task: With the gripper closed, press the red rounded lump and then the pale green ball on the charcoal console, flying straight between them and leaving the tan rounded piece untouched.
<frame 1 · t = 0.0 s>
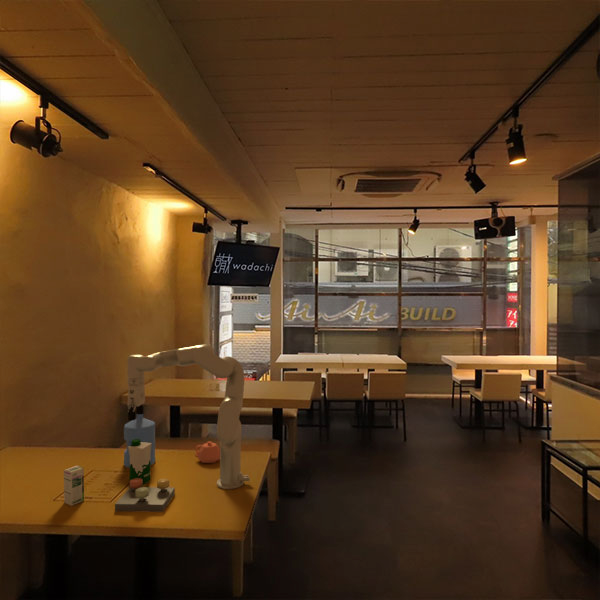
hand: (135, 417, 209), 31 cm above the table, fingers open, 9 cm apart
syrup box: (74, 502, 190), on the table
tan rounded piece: (163, 486, 194), point 5 cm above the table, slide at 0.0 cm
pale green ball: (142, 495, 185), point 5 cm above the table, slide at 0.0 cm
sugar bowl: (207, 461, 237), on the table
milk carton: (140, 482, 209), on the table
water jug: (139, 463, 233), on the table
red rounded lump: (136, 486, 194), point 5 cm above the table, slide at 0.0 cm
console: (146, 502, 190), on the table
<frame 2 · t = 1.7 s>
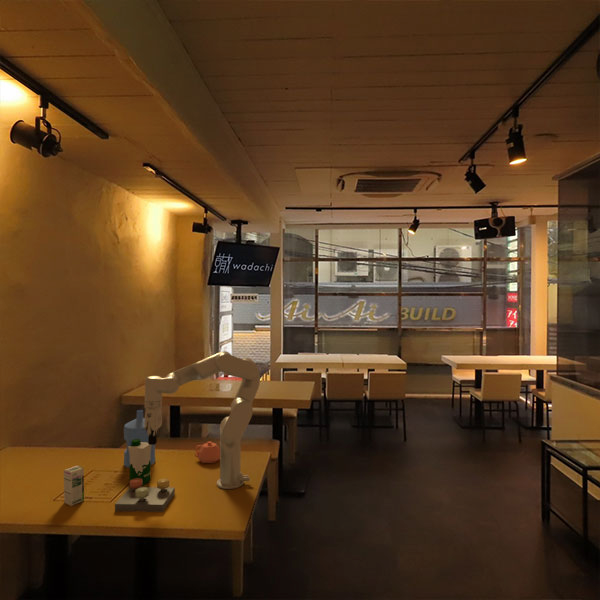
hand: (152, 443, 200), 22 cm above the table, fingers closed
nothing on the table moved.
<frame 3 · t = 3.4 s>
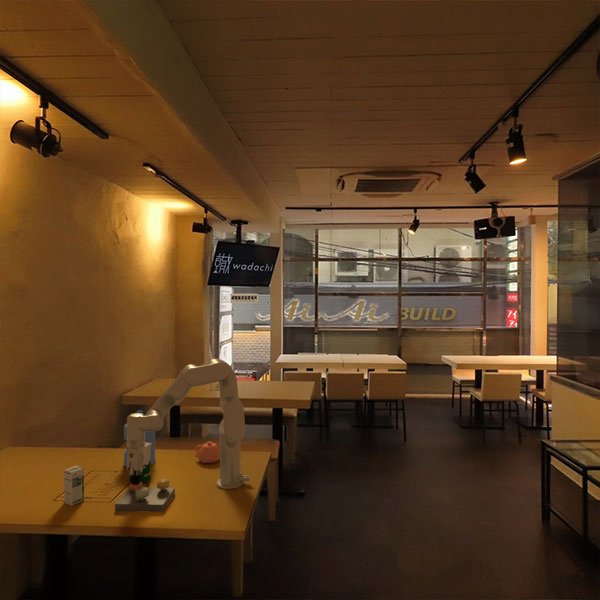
hand: (135, 483, 194), 6 cm above the table, fingers closed
red rounded lump: (136, 489, 194), point 4 cm above the table, slide at -1.4 cm, touching gripper
everything else where it was.
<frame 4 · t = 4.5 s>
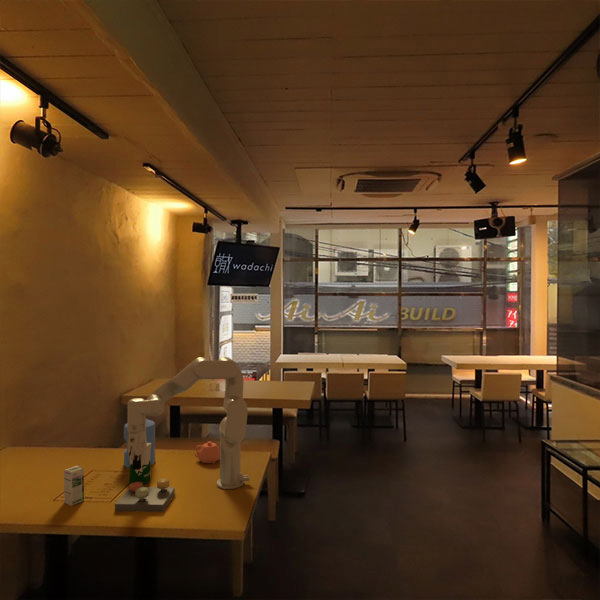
hand: (136, 468, 193), 13 cm above the table, fingers closed
red rounded lump: (136, 489, 194), point 3 cm above the table, slide at -1.6 cm
everything else where it was.
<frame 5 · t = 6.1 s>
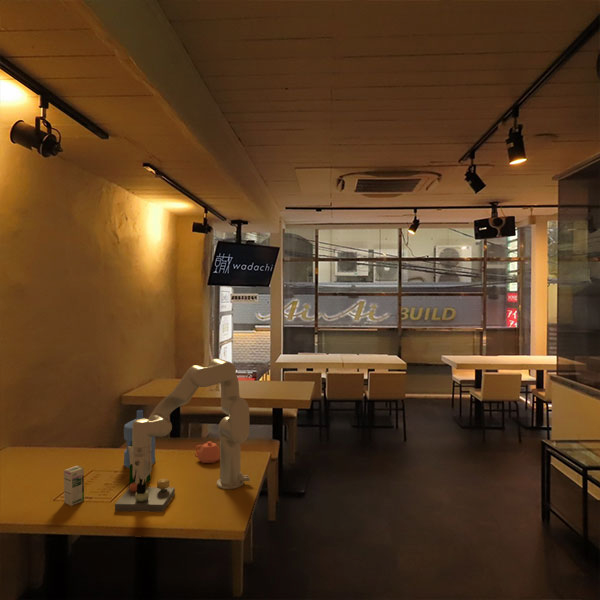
hand: (141, 492, 185), 6 cm above the table, fingers closed
pale green ball: (142, 498, 185), point 4 cm above the table, slide at -1.2 cm, touching gripper
everything else where it was.
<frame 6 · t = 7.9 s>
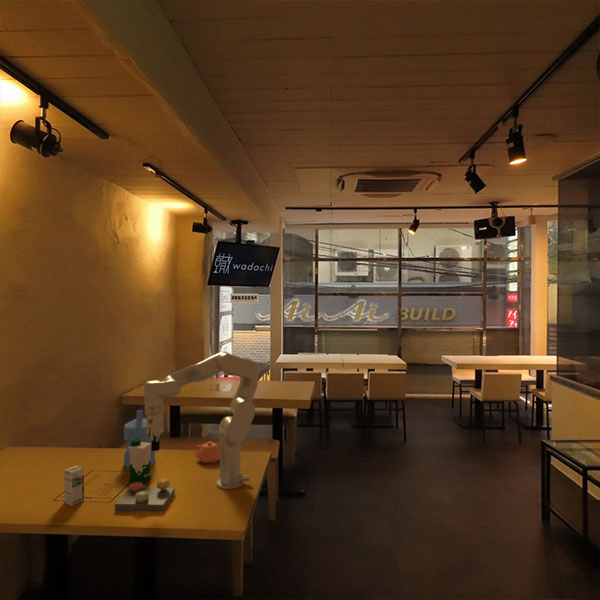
hand: (155, 450, 195), 21 cm above the table, fingers closed
pale green ball: (142, 499, 185), point 3 cm above the table, slide at -1.6 cm
everything else where it was.
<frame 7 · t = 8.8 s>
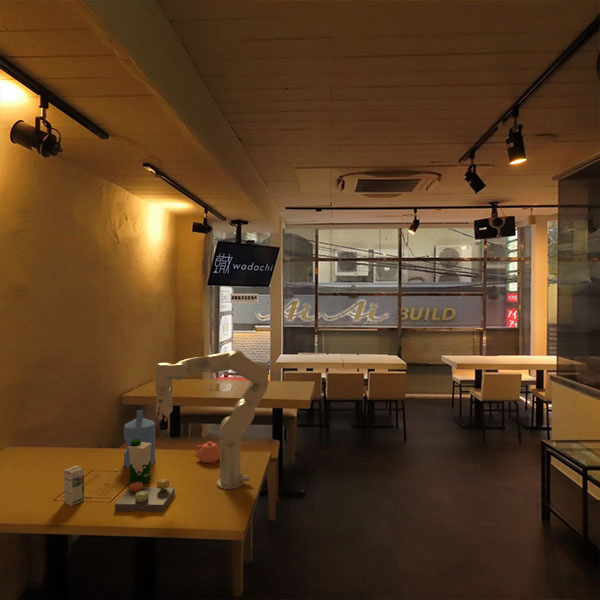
hand: (163, 429, 204), 27 cm above the table, fingers closed
nothing on the table moved.
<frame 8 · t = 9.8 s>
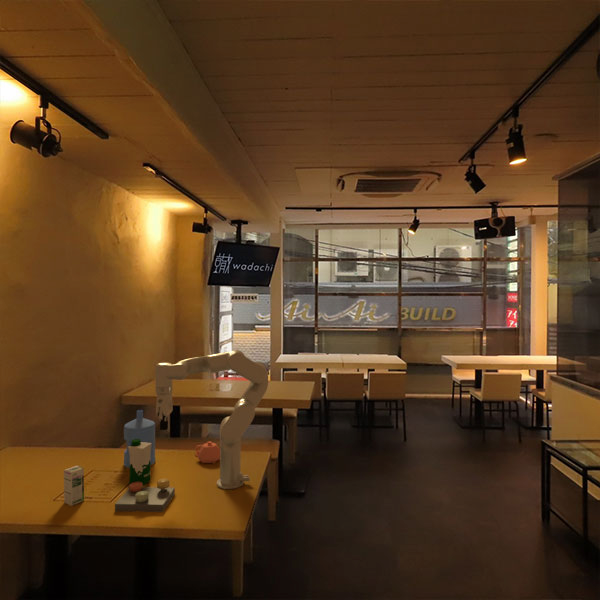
hand: (163, 429, 204), 27 cm above the table, fingers closed
nothing on the table moved.
at the end: red rounded lump slide at -1.6 cm; pale green ball slide at -1.6 cm; tan rounded piece slide at 0.0 cm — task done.
